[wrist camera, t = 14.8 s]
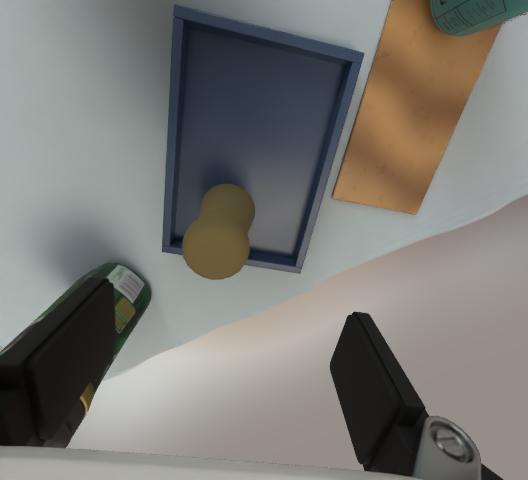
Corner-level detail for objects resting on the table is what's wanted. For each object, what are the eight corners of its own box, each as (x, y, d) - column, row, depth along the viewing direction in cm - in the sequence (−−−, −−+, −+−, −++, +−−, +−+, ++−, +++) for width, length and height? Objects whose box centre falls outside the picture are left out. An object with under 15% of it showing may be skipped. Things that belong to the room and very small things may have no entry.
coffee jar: (111, 329, 36) (-18, 515, 19) (63, 289, 33) (-139, 465, 16) (165, 295, 34) (76, 469, 17) (119, 250, 31) (-43, 403, 14)
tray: (181, 15, 22) (173, 3, 20) (355, 59, 24) (365, 52, 22) (168, 242, 31) (161, 251, 29) (297, 263, 33) (300, 273, 30)
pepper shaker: (249, 178, 28) (246, 210, 18) (259, 231, 30) (261, 285, 20) (193, 188, 28) (159, 225, 18) (207, 239, 31) (184, 297, 20)
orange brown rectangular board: (419, -91, 20) (422, -95, 20) (533, -54, 21) (538, -57, 21) (331, 197, 29) (332, 198, 29) (414, 213, 30) (416, 214, 30)
